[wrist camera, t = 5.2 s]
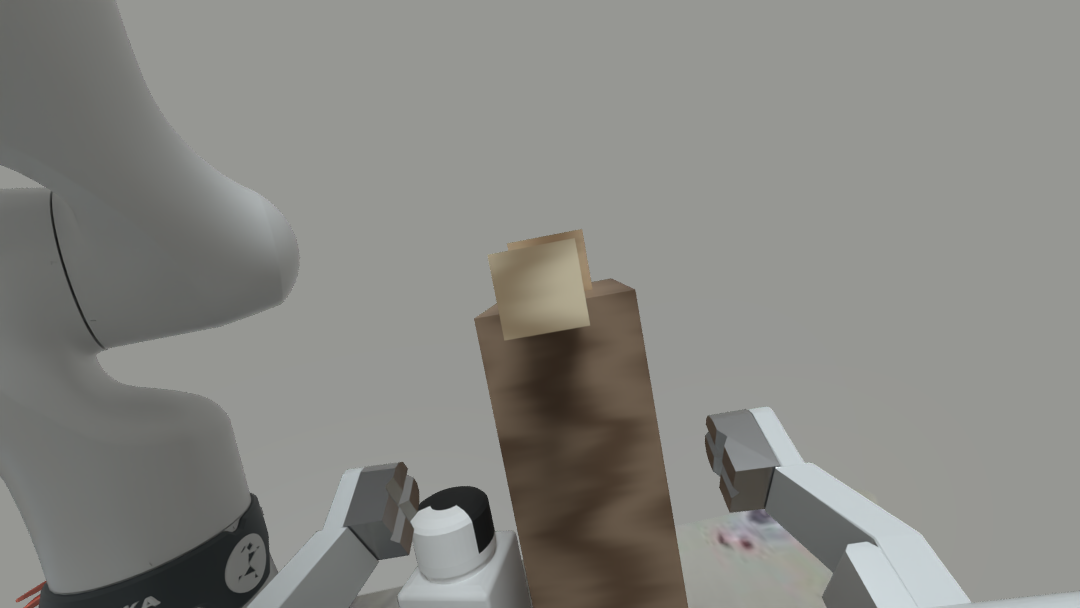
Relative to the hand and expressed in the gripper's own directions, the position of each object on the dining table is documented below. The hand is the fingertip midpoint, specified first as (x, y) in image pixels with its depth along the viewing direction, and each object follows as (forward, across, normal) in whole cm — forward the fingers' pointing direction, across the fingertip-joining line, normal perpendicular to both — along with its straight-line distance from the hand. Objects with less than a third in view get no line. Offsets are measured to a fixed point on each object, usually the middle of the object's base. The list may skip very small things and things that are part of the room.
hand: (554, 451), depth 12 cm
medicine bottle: (+5, +11, +30) cm, 33 cm away
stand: (+4, 0, +30) cm, 30 cm away
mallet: (+14, 0, +5) cm, 15 cm away
